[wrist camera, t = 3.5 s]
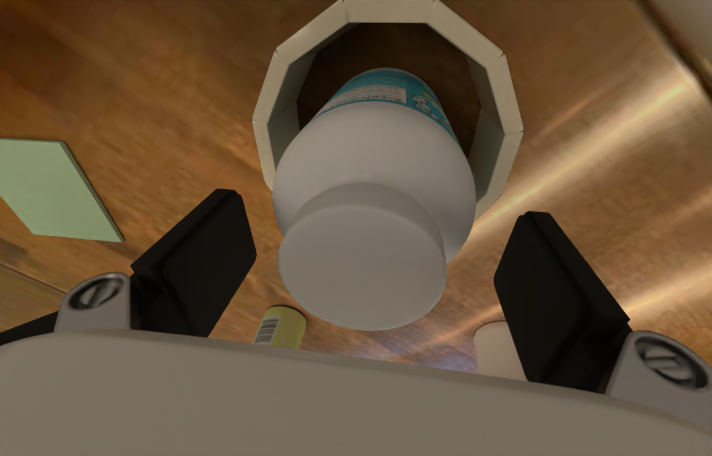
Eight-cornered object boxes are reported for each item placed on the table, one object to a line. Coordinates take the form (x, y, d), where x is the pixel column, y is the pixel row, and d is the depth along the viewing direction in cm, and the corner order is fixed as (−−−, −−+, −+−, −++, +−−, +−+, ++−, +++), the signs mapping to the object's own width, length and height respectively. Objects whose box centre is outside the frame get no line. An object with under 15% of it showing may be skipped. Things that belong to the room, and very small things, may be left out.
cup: (488, 297, 26) (525, 418, 18) (567, 332, 28) (633, 459, 20) (433, 341, 32) (444, 451, 24) (502, 369, 33) (534, 481, 25)
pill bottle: (443, 175, 20) (491, 361, 9) (341, 185, 21) (279, 355, 11) (442, 51, 16) (532, 126, 5) (315, 75, 17) (171, 173, 6)
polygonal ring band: (271, 2, 15) (225, -3, 11) (524, 1, 14) (572, -5, 10) (299, 206, 23) (277, 245, 19) (464, 218, 22) (477, 263, 18)
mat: (-45, 135, 23) (-51, 136, 23) (63, 140, 22) (59, 142, 22) (36, 231, 29) (32, 234, 29) (125, 240, 28) (121, 242, 28)
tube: (310, 336, 34) (233, 602, 19) (270, 331, 35) (162, 586, 19) (305, 306, 31) (206, 600, 15) (260, 301, 31) (120, 581, 16)
